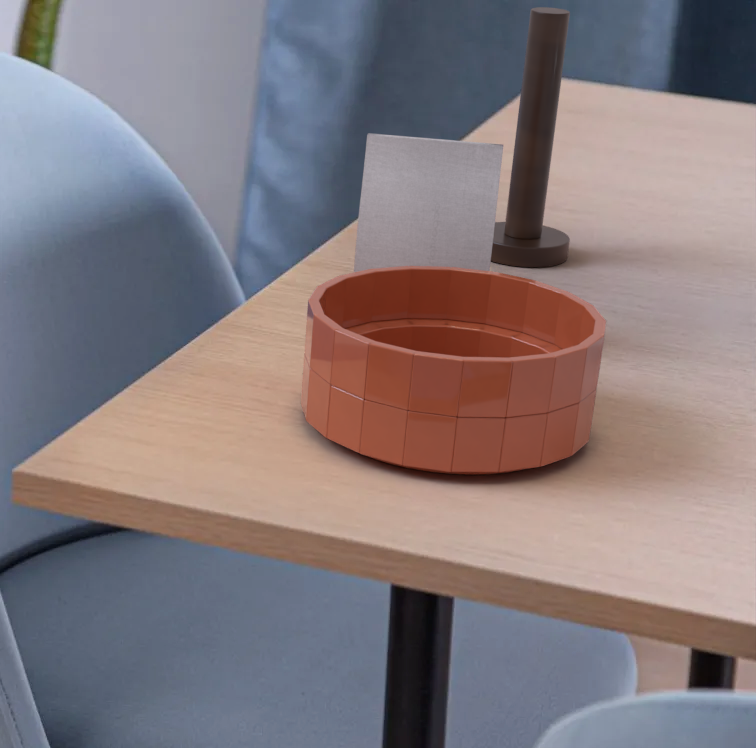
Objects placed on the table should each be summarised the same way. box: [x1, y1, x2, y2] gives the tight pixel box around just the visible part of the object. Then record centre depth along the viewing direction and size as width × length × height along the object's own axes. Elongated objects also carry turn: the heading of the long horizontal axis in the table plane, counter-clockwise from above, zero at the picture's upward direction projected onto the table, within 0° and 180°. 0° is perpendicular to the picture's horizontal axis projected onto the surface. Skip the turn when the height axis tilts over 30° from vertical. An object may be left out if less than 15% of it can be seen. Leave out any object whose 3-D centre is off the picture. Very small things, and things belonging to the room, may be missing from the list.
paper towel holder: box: [490, 6, 571, 268], centre depth 103 cm, size 6×6×14 cm
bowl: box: [300, 266, 607, 476], centre depth 79 cm, size 13×13×6 cm
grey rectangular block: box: [353, 132, 504, 272], centre depth 90 cm, size 4×7×10 cm, turn 81°
